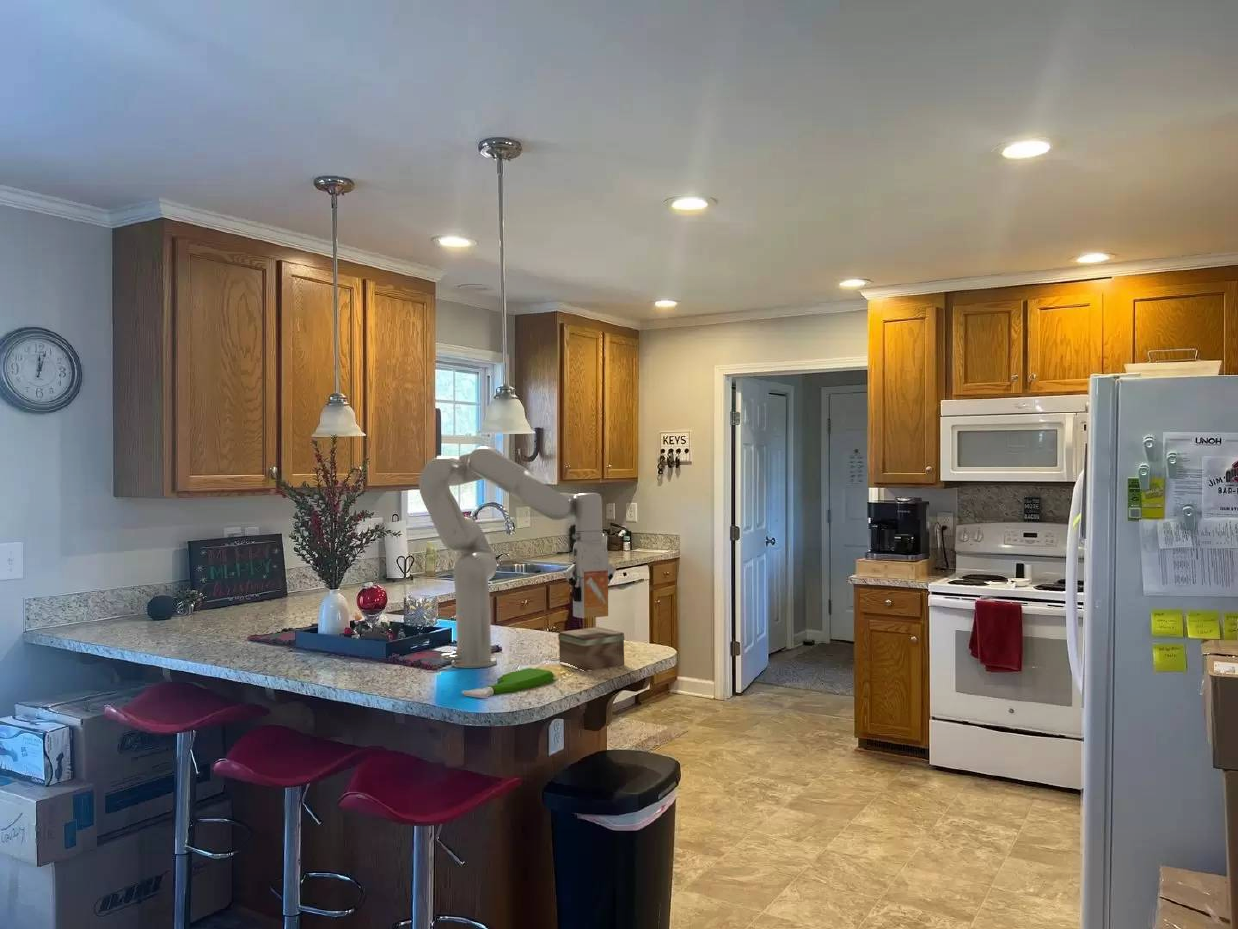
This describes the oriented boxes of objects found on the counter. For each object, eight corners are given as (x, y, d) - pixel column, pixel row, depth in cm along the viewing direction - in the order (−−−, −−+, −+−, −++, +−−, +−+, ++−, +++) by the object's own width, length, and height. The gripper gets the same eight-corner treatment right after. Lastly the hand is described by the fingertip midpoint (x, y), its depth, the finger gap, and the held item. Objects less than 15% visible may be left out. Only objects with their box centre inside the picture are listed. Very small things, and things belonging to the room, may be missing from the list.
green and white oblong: (557, 683, 232) (489, 704, 212) (526, 678, 238) (457, 698, 219) (557, 671, 232) (489, 691, 212) (526, 666, 238) (457, 686, 219)
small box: (584, 619, 247) (583, 571, 247) (572, 616, 252) (571, 569, 253) (609, 616, 252) (608, 569, 252) (597, 613, 257) (596, 567, 257)
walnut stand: (584, 672, 242) (584, 638, 242) (558, 664, 253) (558, 632, 253) (625, 665, 250) (624, 632, 250) (598, 658, 261) (597, 626, 261)
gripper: (569, 539, 244) (571, 604, 244) (622, 535, 254) (624, 598, 254) (555, 538, 250) (557, 601, 250) (607, 535, 260) (608, 595, 260)
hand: (590, 599), depth 252 cm, fingers closed on small box, 8 cm apart
